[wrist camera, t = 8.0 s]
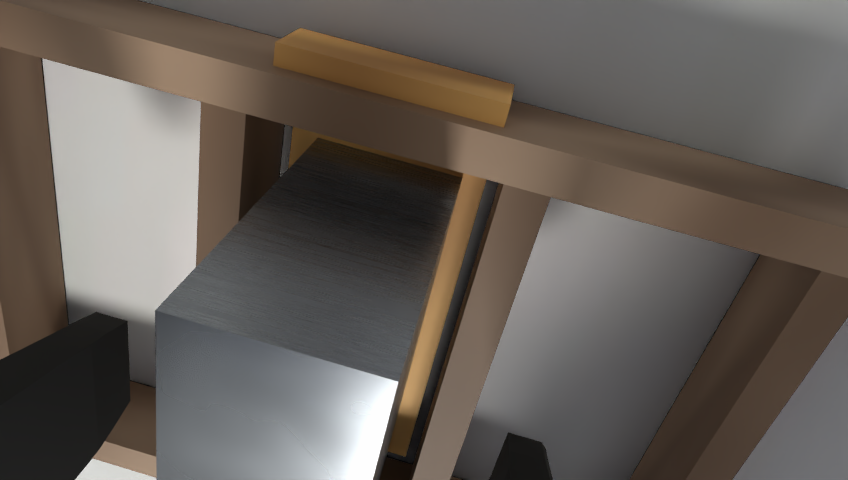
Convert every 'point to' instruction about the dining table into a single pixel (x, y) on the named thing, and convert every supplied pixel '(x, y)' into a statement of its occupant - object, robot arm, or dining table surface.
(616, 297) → the dining table surface
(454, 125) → the slot rack
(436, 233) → the metal block
